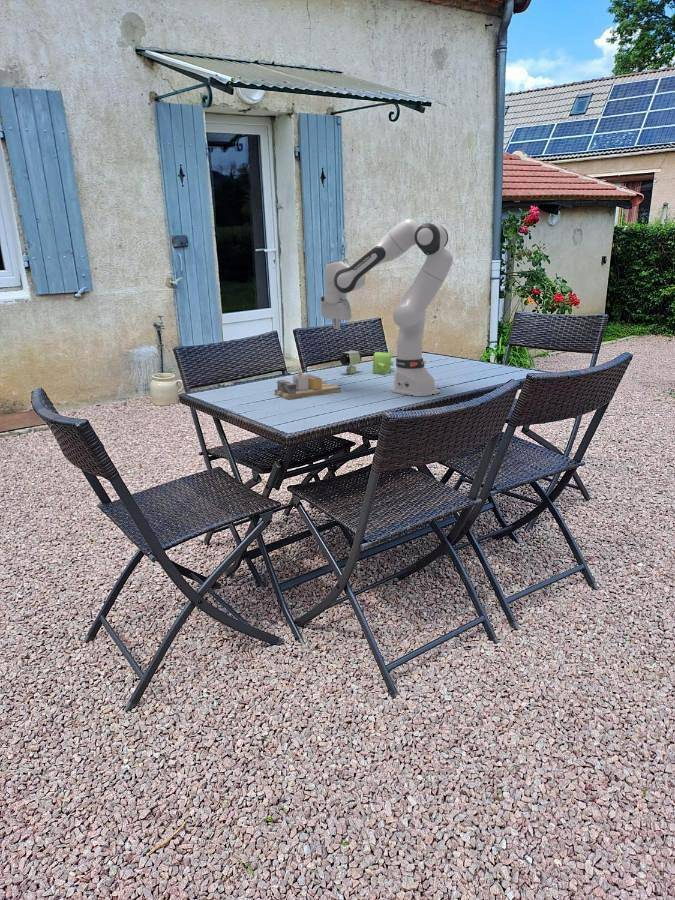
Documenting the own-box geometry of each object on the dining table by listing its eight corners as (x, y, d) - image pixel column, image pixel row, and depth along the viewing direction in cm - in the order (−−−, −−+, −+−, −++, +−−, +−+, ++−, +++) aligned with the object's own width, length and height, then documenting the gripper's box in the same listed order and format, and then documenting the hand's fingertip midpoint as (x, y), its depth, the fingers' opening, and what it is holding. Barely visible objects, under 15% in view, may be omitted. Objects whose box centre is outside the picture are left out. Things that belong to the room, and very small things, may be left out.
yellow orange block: (322, 388, 296) (321, 377, 295) (314, 389, 294) (314, 378, 293) (311, 384, 304) (310, 373, 303) (303, 385, 303) (303, 375, 301)
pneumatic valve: (339, 374, 338) (339, 350, 334) (355, 370, 346) (355, 347, 342) (347, 375, 334) (347, 351, 330) (363, 372, 342) (363, 348, 338)
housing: (308, 389, 296) (307, 371, 293) (298, 390, 293) (297, 372, 291) (303, 387, 300) (302, 369, 297) (293, 388, 297) (292, 371, 295)
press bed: (340, 391, 299) (340, 378, 298) (289, 399, 287) (288, 386, 285) (324, 386, 311) (324, 373, 309) (274, 393, 298) (274, 380, 296)
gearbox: (391, 376, 332) (392, 357, 329) (371, 375, 333) (372, 356, 330) (393, 369, 349) (394, 351, 346) (375, 368, 350) (375, 350, 347)
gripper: (354, 298, 296) (355, 329, 300) (329, 296, 312) (330, 326, 316) (342, 299, 293) (343, 331, 297) (318, 297, 309) (319, 327, 313)
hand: (336, 328), depth 307 cm, fingers closed
